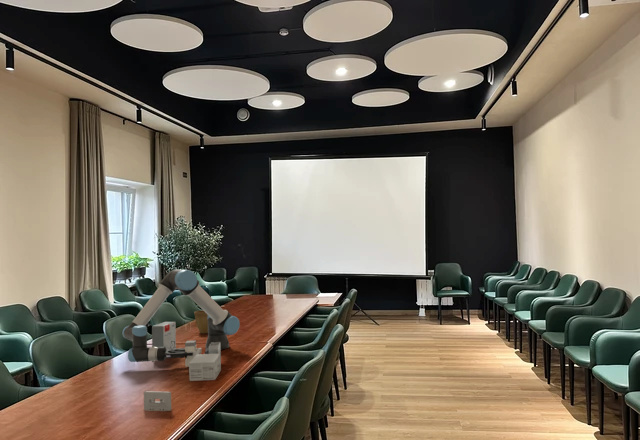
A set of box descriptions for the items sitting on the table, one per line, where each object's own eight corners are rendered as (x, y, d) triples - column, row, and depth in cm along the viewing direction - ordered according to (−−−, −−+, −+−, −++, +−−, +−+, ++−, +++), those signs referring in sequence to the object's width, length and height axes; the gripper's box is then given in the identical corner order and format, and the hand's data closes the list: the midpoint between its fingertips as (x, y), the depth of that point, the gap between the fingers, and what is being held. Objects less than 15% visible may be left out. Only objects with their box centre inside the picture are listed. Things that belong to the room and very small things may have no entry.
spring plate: (204, 366, 262) (204, 351, 262) (207, 362, 270) (207, 348, 270) (207, 366, 262) (206, 351, 262) (209, 362, 270) (209, 348, 270)
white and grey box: (185, 366, 262) (184, 342, 263) (187, 364, 268) (187, 340, 268) (201, 366, 263) (201, 342, 263) (203, 363, 268) (203, 340, 269)
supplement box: (196, 371, 256) (196, 354, 256) (221, 370, 257) (220, 353, 257) (188, 381, 239) (188, 362, 240) (215, 380, 240) (214, 361, 240)
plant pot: (218, 331, 363) (218, 310, 364) (204, 335, 351) (203, 313, 351) (205, 329, 371) (204, 309, 372) (190, 333, 359) (189, 312, 359)
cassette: (172, 409, 200) (171, 391, 200) (170, 411, 198) (169, 392, 198) (145, 409, 202) (145, 390, 202) (143, 410, 200) (142, 392, 200)
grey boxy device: (201, 368, 260) (201, 346, 261) (204, 363, 271) (204, 342, 271) (218, 368, 261) (217, 346, 261) (220, 363, 271) (220, 341, 272)
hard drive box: (163, 360, 282) (162, 326, 283) (151, 359, 284) (151, 326, 285) (176, 353, 298) (175, 321, 298) (165, 353, 299) (164, 321, 300)
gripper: (162, 356, 273) (203, 354, 275) (153, 365, 255) (197, 363, 256) (162, 343, 273) (203, 341, 275) (153, 351, 255) (196, 349, 257)
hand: (200, 352), depth 266 cm, fingers closed on white and grey box, 5 cm apart
